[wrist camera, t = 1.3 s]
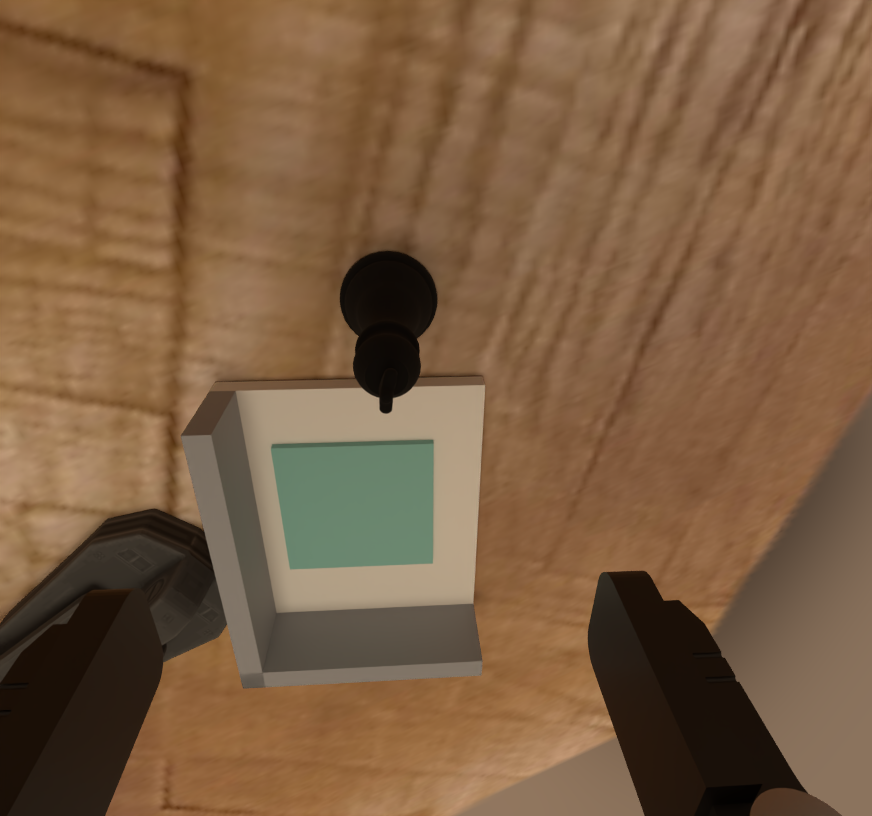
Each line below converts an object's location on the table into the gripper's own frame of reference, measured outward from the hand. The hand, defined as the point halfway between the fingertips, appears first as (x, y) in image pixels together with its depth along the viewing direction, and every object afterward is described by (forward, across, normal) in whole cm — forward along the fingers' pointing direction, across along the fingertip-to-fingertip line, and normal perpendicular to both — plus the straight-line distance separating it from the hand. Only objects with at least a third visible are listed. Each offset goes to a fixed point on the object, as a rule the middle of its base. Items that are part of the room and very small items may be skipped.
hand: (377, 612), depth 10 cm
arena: (+18, +2, +12) cm, 22 cm away
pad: (+17, +2, +11) cm, 20 cm away
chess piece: (+18, 0, 0) cm, 18 cm away
